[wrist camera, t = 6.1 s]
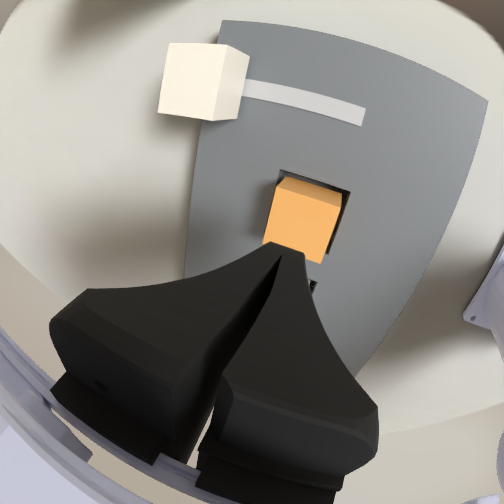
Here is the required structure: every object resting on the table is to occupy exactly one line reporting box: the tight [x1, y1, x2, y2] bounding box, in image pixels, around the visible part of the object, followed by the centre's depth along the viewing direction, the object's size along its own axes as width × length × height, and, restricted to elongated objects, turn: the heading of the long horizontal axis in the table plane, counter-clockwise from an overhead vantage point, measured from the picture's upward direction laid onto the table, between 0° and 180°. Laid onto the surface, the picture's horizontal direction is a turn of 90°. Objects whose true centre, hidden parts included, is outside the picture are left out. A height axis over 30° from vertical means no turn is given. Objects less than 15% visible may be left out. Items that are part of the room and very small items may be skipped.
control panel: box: [184, 20, 488, 377], centre depth 16 cm, size 15×22×3 cm
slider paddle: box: [158, 43, 250, 121], centre depth 12 cm, size 3×4×3 cm
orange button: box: [262, 176, 342, 264], centre depth 15 cm, size 3×3×2 cm
